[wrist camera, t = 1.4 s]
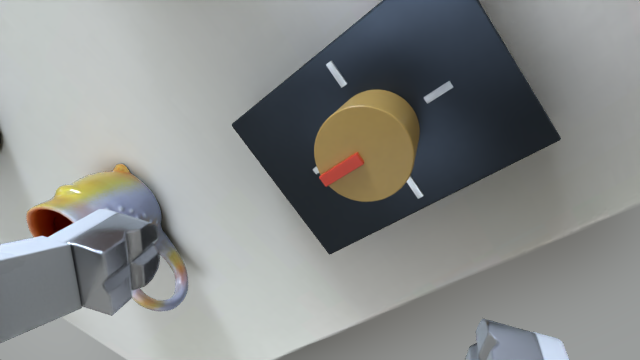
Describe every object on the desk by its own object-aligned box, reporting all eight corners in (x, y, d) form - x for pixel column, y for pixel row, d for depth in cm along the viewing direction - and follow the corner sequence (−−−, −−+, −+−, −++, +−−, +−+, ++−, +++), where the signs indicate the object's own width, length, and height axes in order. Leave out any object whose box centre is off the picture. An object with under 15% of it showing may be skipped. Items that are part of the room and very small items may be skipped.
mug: (83, 194, 33) (4, 233, 27) (120, 147, 29) (39, 179, 24) (181, 294, 34) (126, 352, 28) (226, 259, 31) (175, 316, 25)
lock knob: (388, 71, 19) (374, 85, 15) (436, 144, 19) (435, 175, 16) (320, 119, 21) (292, 143, 17) (365, 184, 21) (349, 220, 17)
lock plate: (446, -43, 19) (446, -53, 16) (546, 123, 20) (563, 140, 17) (252, 113, 25) (229, 125, 22) (340, 231, 27) (328, 256, 24)
